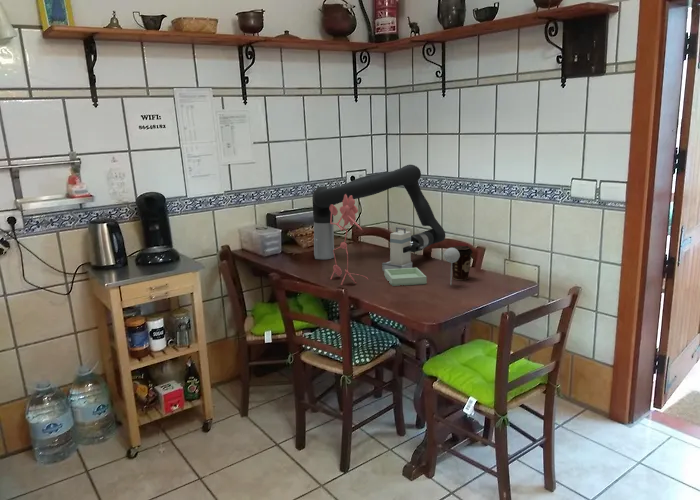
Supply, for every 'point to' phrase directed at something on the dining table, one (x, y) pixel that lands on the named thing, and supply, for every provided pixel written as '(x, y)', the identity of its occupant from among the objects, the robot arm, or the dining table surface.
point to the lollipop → (451, 257)
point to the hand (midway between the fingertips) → (397, 249)
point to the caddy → (400, 247)
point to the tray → (405, 276)
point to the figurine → (348, 216)
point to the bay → (395, 266)
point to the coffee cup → (462, 263)
